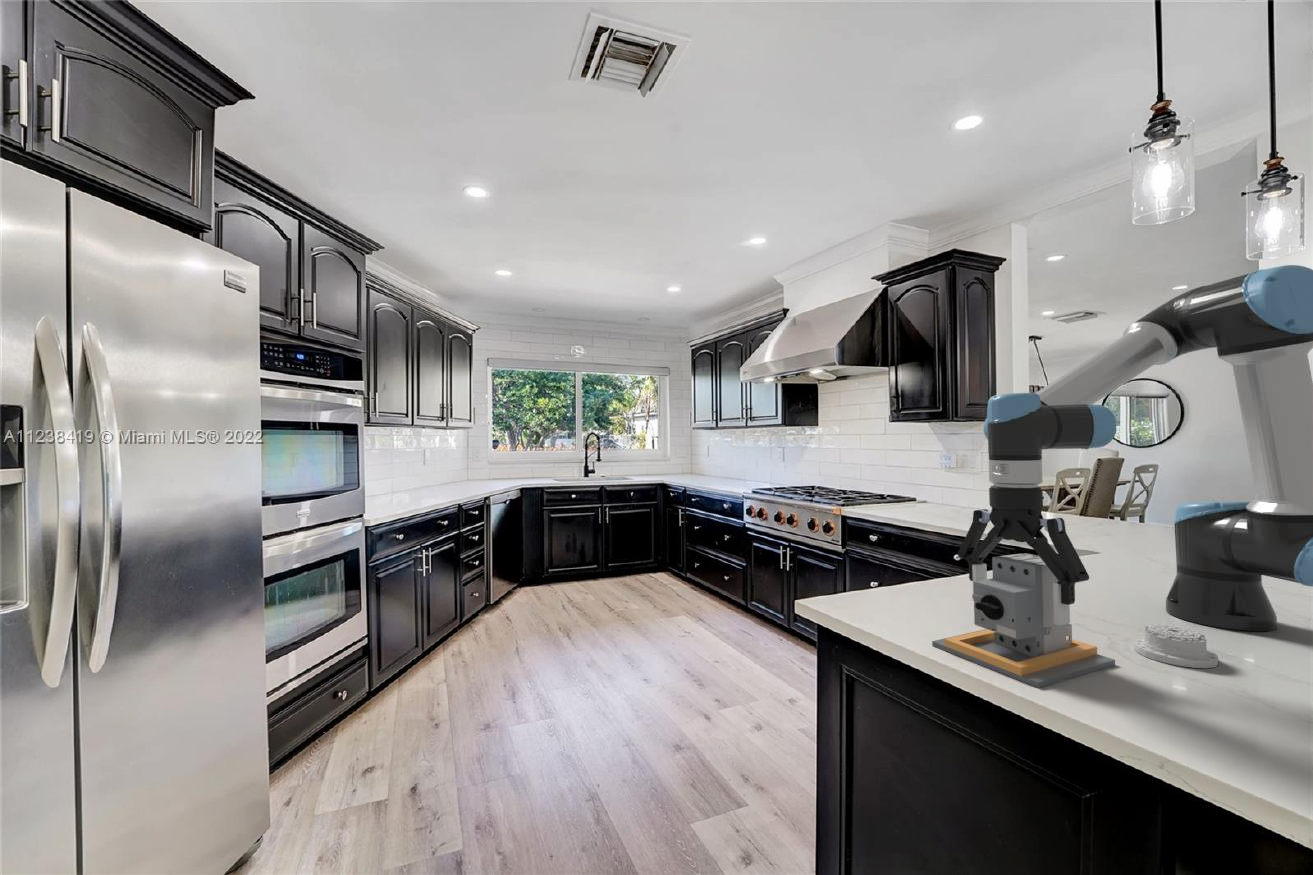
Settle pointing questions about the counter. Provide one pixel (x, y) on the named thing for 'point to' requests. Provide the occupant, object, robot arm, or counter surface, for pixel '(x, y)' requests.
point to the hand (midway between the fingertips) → (1018, 611)
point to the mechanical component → (1175, 646)
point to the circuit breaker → (1020, 606)
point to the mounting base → (1025, 658)
